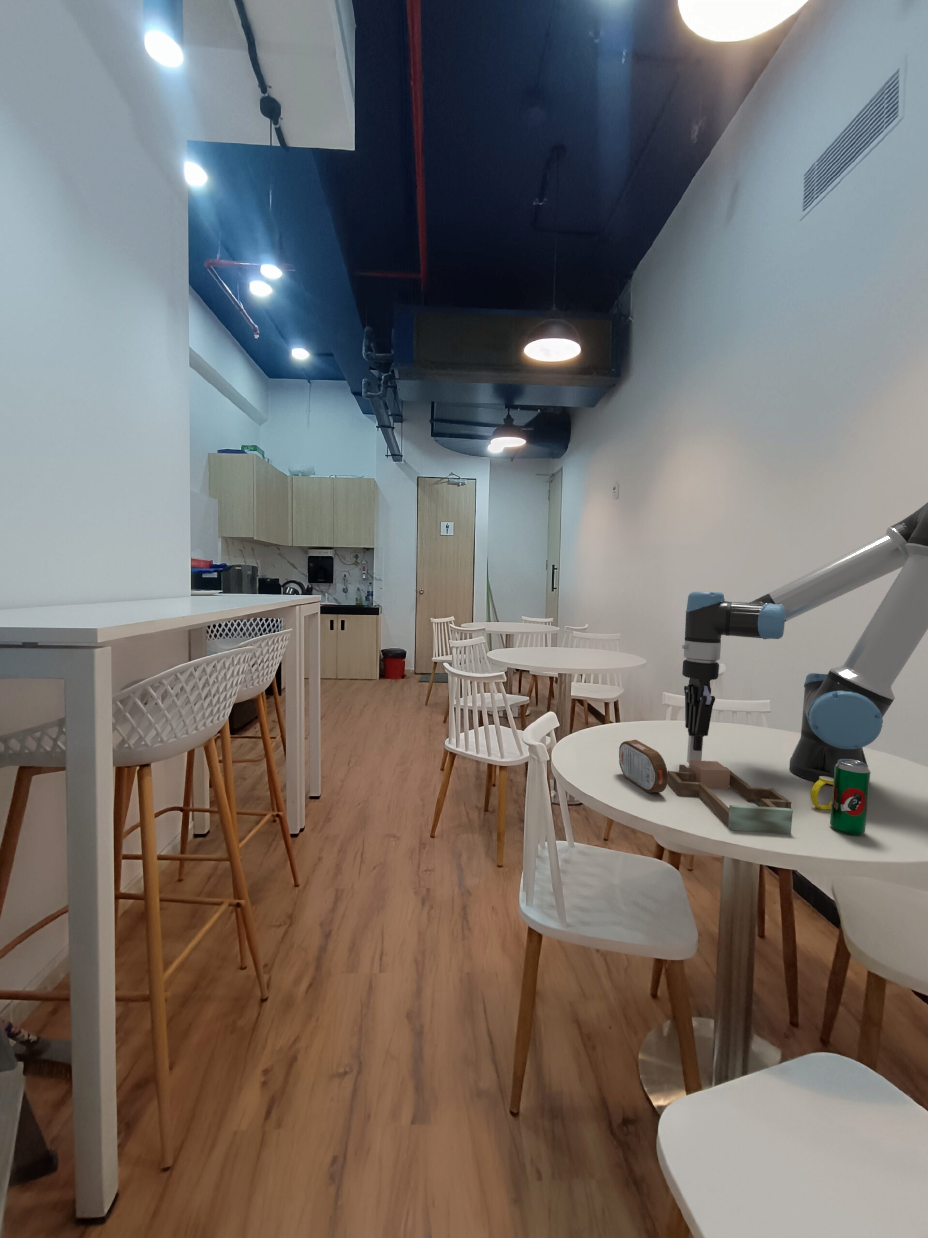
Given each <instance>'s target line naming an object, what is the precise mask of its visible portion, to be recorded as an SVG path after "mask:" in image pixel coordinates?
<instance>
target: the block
mask: <svg viewBox="0 0 928 1238" xmlns="http://www.w3.org/2000/svg"><path fill="white" fill-rule="evenodd" d="M726 767H727V766H724V765H723V764H721V763H720V762H718V761H715V760H702V761H695V760H689V763H688V769H689V770H690V771H691V772H692V773H693V774H694V779H693V782H701V783H704V784H705V785H706V786H707V787H708V788H709V789H730V786H729V782H730V768H728V767H727V768H728V769H727V768H726Z"/></svg>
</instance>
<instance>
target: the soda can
mask: <svg viewBox="0 0 928 1238" xmlns="http://www.w3.org/2000/svg"><path fill="white" fill-rule="evenodd" d="M870 783H871V771H870V769H869V765H868V763H867V764H866V763H863V762H860V761H856V760H851V759H839V760H838V763H837V764H836V765H835V769H834V781H833V785H832V793H831V794H832V796H831V801H832V804H831V809H830V816H829V817H830V819H829V824H830V826H831V827H832V829H834V830H835V831H837V832H840V834H841V833H842V834H843V835H848V836H854V837H855V836H856V837H857V836H861V835H864V833H865V832H866V826H867V816H868V815H867V814H868V804H869V794H870V792H869V791H870Z"/></svg>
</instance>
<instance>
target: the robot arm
mask: <svg viewBox="0 0 928 1238" xmlns="http://www.w3.org/2000/svg"><path fill="white" fill-rule="evenodd" d="M899 569H900V571H899V573H898V574H897V576H896V578H895V579H894V581H893V583H892V585H890V587H889V589H888V591H887V592H886V595H885V596H884V598H883V599H882V601H881V602H880V604H879V606H878V608H877V609H876V610H875V612H874V613H873V615H872V617H871V619H870V621H869V622H868V624H867V626H866V627H865V628H864V630H863V632H862V634H861V635H860V637H859V639H857V642H856V644H855V645H854V647H853V649H852V650H851V652H850V653H849V655H848V657H847V658H846V660H845V662H844V663H843V664H842V665H841V666H836V667H834V668H833V667H832V668H830V669H829V671H828V672H827V673H818V672H817V673H815V672H812V673H811V672H810V673H809V674H807V675H806V676H805V680H804V681H805V682H804V684H803V687H804V693H803V694H804V695H803V706H802V716H801V717H802V719H801V730H800V731H801V732H800V738H799V740H798V742H797V744H796V746H795V748H794V751H793V753H792V755H791V757H790V759H789V771H790V772H791V773H793V774H794V775H796V776H798V777H800V778H803V779H806V780H809V781H812V782H815V783H816V782H817V781H818V780H819V777H820V776H826V777H831V778H834V769H835V765H836V764H837V763H838V760H839V759H851V760H856V761H860V762H863V763H866V764H867V765H868V763H867V759H866V756H865V753H864V752H865V751H864V749H863V748H864V747H866V746H869V745H870V744H872V743H873V742H874V741H875V740H876V739H877V738H878V737H879V735H880V734H881V731H882V728H883V723H884V719H883V718H884V716H885V715H886V713H887V711H888V710H889V708H890V707H891V705H892V704H893V701H894V700H895V699H896V698H895V695H894V693H893V690H892V685H893V684H894V682H895V681H896V679H897V678H898V676H899V675H900V674H901V671H902V670H903V668H904V667H905V666H906V664H907V662H908V661H909V659H910V658H911V656H912V654H914V651H915V649H916V648H917V647H918V645H919V644H920V642H921V640H922V639H923V637H924V636H925V635H926V632H927V631H928V502H926V503H925V504H924V505H923V506H921V507H919V508H918V509H916V510H915V511H914V512H913V513H912V514H910V515H908V516H907V517H905V518H904V519H902V520H900V521H898V522H897V523H895V524H893V525H891V526H889V527H887V529H886V531H885V534H884V535H882V536H879V537H878V538H876V539H874V540H871V541H870V542H867V543H866V544H863V545H862V546H859V547H858V548H856V549H853V550H852V551H849V552H848V553H846V554H844V555H842V556H840V557H838V558H836V559H834V560H831V561H829V562H828V563H826V564H823V565H822V566H820V567H818V568H816V569H814V570H812V571H810V572H808V573H806V574H804V575H802V576H800V577H798V578H796V579H793V581H790V582H788V583H786V584H784V585H783V586H780V587H778V588H776V589H774V590H772V591H770V592H768V593H767V594H764V595H763V596H760V597H758V598H756V599H755V600H752V601H750V602H741V601H739V602H738V601H737V602H734V601H727V600H726V599H725V595H724V593H723V592H714V591H691V592H690V593H689V594H688V596H687V601H686V602H687V604H686V610H685V623H684V624H685V629H684V644H682V645H681V648H682V649H683V658H685V659H684V660H682V672H681V674H682V676H683V677H685V678H688V679H689V680H688V684H687V685H684V686H683V690H684V691H683V692H684V708H685V709H684V711H685V713H684V715H685V717H684V719H685V724H684V725H685V729H687V732H688V741H687V756H686V762H687V764H689V760H695V761H703V760H702V759H703V758H702V757H703V745H704V737H708V736H709V730H710V724H711V718H712V713H713V706H714V705H715V702H716V696H714V695H712V687H711V681H712V680H713V681H715V680H718V678H719V673H720V663H719V662H718V661H720V659H721V652H722V651H721V648H722V640H721V639H722V636H726V637H727V636H728V637H730V636H732V637H742V638H753V639H763V640H779V639H782V638H783V636H784V633H785V622H788V621H791V620H792V619H794V618H796V617H798V616H800V615H803V614H805V613H808V612H809V611H811V610H814V609H815V608H818V607H820V606H822V605H823V604H827V603H828V602H830V601H833V600H834V599H837V598H839V597H842V596H844V595H845V594H848V593H849V592H852V591H854V590H856V589H858V588H861V587H862V586H865V585H867V584H869V583H872V582H874V581H875V580H877V579H880V578H882V577H884V576H886V575H888V574H891V573H892V572H894V571H897V570H899ZM825 785H828V786H829V785H830V786H833V784H827V783H826V784H825Z"/></svg>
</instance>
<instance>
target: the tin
mask: <svg viewBox="0 0 928 1238" xmlns="http://www.w3.org/2000/svg"><path fill="white" fill-rule="evenodd" d="M618 748H619V749H618V757H619V760H618V762H619V763H618V764H619V767H620V770H621V773H622V774H623V775H624V776H623V777H625V778H626V779H627V780H629V781H630V782H631V783H632V784H635V785H636V786H637V787H638V788H640V789H641V790H642V791H644V792H646V793H648V794H651V793H662V792H664V791H665V790H666V788H667V787H668V783H667V782H668V769H667V764H666V762H665V759H664V758H663V756H662V755H661V754H660V752H659V751H657V750H655V749H653V748H652V747H650V746H648V745H647V744H645V743H643V742H641V741H639V740H637V739H631V740H625V741H622V742H621V743H620V746H619V747H618Z"/></svg>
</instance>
